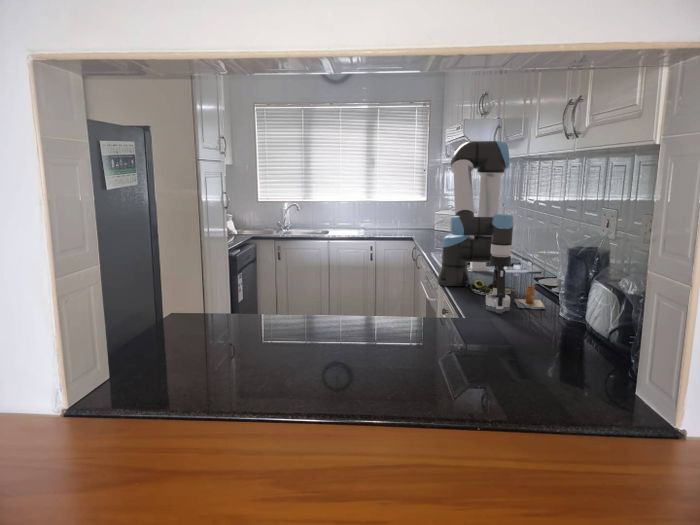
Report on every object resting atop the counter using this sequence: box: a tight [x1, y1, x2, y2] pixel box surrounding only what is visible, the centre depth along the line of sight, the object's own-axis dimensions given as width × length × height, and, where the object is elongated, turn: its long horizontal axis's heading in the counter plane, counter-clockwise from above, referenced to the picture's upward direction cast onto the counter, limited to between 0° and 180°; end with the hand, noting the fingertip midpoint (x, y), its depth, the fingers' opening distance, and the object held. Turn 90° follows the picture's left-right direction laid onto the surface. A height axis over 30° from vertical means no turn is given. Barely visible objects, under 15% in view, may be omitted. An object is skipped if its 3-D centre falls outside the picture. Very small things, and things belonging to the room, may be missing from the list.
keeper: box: [514, 284, 546, 309], centre depth 200 cm, size 10×10×8 cm
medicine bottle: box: [469, 262, 487, 272], centre depth 264 cm, size 7×7×12 cm
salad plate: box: [469, 278, 516, 295], centre depth 222 cm, size 19×18×5 cm
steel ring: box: [485, 293, 511, 308], centre depth 196 cm, size 9×9×5 cm
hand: (497, 308), depth 196 cm, fingers open, 13 cm apart
